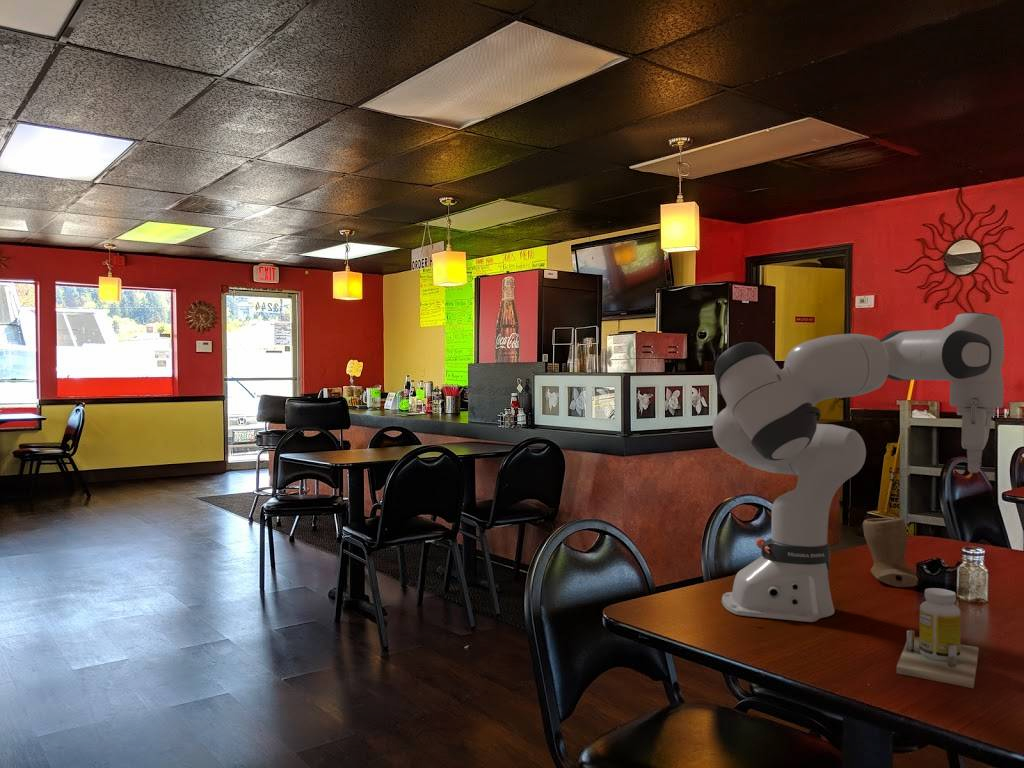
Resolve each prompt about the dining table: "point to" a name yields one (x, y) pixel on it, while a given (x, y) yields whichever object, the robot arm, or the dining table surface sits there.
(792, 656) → the dining table surface
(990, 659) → the dining table surface
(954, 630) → the pill bottle
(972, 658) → the light wood flat board
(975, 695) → the dining table surface
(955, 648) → the header pins
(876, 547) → the tan boot
